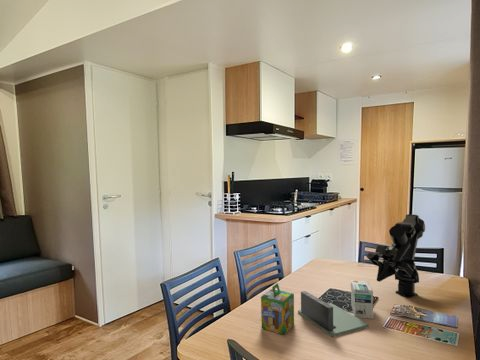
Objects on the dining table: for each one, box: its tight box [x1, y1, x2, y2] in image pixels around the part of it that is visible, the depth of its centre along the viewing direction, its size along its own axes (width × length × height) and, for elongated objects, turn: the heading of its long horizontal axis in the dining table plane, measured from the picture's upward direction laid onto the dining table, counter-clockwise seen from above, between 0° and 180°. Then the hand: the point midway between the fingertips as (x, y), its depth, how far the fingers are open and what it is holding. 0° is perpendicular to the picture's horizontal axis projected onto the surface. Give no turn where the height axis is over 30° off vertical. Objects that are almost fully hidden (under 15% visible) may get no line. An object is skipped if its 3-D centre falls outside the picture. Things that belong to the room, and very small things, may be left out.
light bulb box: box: [350, 279, 374, 319], centre depth 124 cm, size 11×7×11 cm, turn 168°
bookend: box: [300, 290, 336, 332], centre depth 116 cm, size 4×16×8 cm, turn 24°
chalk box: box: [260, 282, 295, 336], centre depth 114 cm, size 9×9×15 cm
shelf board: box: [297, 302, 370, 338], centre depth 119 cm, size 16×20×1 cm
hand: (377, 280), depth 128 cm, fingers closed
